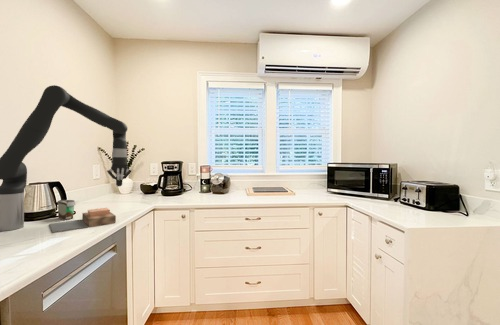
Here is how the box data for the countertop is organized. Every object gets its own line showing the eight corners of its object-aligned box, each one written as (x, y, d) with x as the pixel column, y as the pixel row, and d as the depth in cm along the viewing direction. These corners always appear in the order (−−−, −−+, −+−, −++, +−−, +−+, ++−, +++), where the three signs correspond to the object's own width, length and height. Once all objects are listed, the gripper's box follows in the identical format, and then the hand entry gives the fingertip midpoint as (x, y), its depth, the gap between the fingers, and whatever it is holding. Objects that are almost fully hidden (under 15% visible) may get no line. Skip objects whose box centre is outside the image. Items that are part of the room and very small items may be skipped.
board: (89, 227, 116) (89, 219, 115) (82, 220, 128) (82, 213, 128) (115, 222, 124) (115, 215, 124) (106, 216, 137) (106, 210, 137)
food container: (79, 218, 131) (79, 201, 131) (66, 221, 126) (67, 202, 126) (69, 215, 137) (70, 199, 137) (57, 217, 132) (57, 200, 132)
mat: (52, 233, 106) (52, 232, 106) (49, 224, 118) (49, 223, 118) (87, 227, 115) (87, 226, 115) (81, 220, 128) (81, 219, 128)
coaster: (90, 216, 120) (90, 212, 120) (87, 214, 125) (87, 209, 125) (109, 214, 127) (109, 209, 127) (106, 212, 132) (106, 207, 132)
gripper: (108, 156, 125) (107, 187, 126) (133, 156, 135) (133, 186, 135) (104, 156, 131) (104, 186, 131) (129, 156, 140) (129, 184, 140)
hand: (119, 186), depth 133 cm, fingers closed
